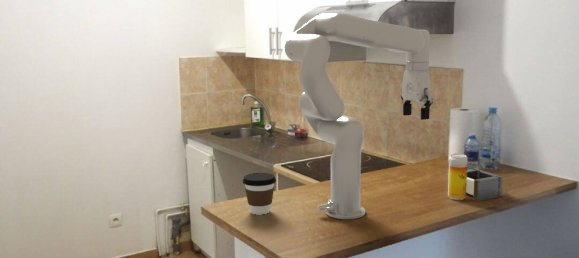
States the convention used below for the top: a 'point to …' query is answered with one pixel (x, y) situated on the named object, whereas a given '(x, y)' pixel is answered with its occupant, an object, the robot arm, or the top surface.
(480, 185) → the gauge frame
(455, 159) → the beer can
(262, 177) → the coffee cup
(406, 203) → the top surface
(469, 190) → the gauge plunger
